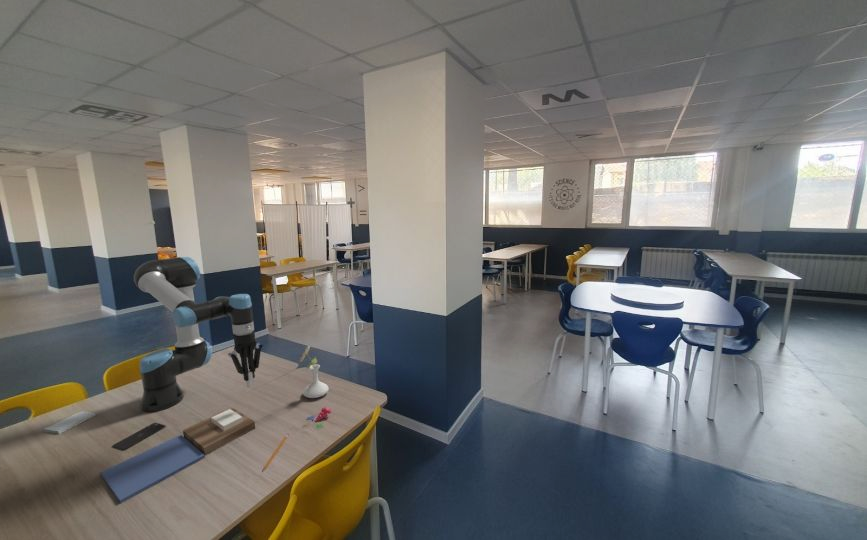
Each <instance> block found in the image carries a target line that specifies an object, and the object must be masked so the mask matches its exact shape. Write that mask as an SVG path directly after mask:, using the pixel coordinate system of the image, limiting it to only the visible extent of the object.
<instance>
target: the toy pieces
mask: <svg viewBox="0 0 867 540" xmlns="http://www.w3.org/2000/svg"><path fill="white" fill-rule="evenodd" d="M331 413H332V410H331V409H330V408H329V407H327V406H324V407H323V408H322V409H321V411H320V412H319V413H318V415H317V416H316V415H310V416H311V417H310V416H307V417H306V418H307V419H306V418H305V419H306V420H314V419H315V416H316V417H317V418H316V420H314V421H313V423H314V422H315V423H316V424H317V425H316V424H315V425H316V428H318V429H317V430H320V429H319V428H321V429H323V428H324V427H323V425H322V424H323V423H317V422H319V421H321V420H324V419H327V418H328V415H330V414H331ZM323 418H324V419H323ZM306 420H305V421H306ZM307 425H308V424H307ZM307 425H306V424H305V425H303V427H302V428H304V427H306V426H307ZM322 427H323V428H322ZM306 428H309V425H308V426H307V427H306Z"/></svg>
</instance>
